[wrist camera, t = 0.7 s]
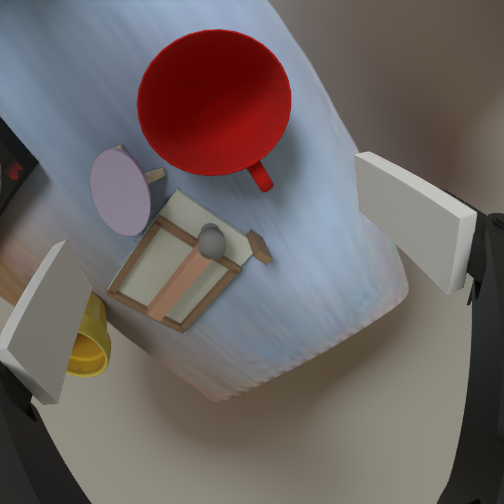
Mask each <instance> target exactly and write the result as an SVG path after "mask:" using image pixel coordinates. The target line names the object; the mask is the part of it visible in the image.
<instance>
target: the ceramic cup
mask: <svg viewBox="0 0 504 504" xmlns="http://www.w3.org/2000/svg"><path fill="white" fill-rule="evenodd" d="M208 97H209V98H208ZM137 110H138V119H139V122H140V125H141V129H142V132H143V134H144V136H145V137H146V139H147V141H148V143H149V144H150V146H151V147H152V148H153V149H154V150H155V151H156V153H157V154H158V155H159V156H160V157H162V158H163V159H164V160H166V161H167V162H168V163H170V164H171V165H173V166H175V167H177V168H179V169H181V170H183V171H186V172H190V173H193V174H197V175H207V176H216V175H226V174H230V173H234V172H237V171H241V170H243V169H245V168H247V170H248V171H249V173H250V174H251V176H252V177H253V179H254V181H255V182H256V184H257V185H258V187H259V189H260V190H261V192H267V191H269V190H270V189H272V188H273V182H272V180H271V179H270V177H269V175H268V173H267V172H266V170H265V169H264V167H263V165H262V163H261V161H260V160H261V159H262V158H263V157H265V156H266V155H267V154H268V153H269V152H270V151H271V150H272V149H273V147H274V146H275V145H276V144H277V142H278V141H279V139H280V138H281V136H282V135H283V133H284V131H285V128H286V126H287V123H288V121H289V116H290V111H291V90H290V85H289V80H288V77H287V75H286V73H285V70H284V68H283V66H282V65H281V63H280V62H279V60H278V59H277V58H276V56H275V55H274V54H273V53H272V52H271V51H270V50H269V49H268V48H267V47H265V46H264V45H263V44H262V43H260V42H258V41H257V40H255V39H253V38H252V37H250V36H247V35H244V34H242V33H239V32H236V31H230V30H222V29H215V30H203V31H199V32H195V33H191V34H188V35H186V36H183V37H181V38H179V39H177V40H175V41H173V42H172V43H171V44H169V45H168V46H167V47H165V48H164V49H163V50H162V51H161V52H160V53H159V54H158V55H157V56H156V57H155V58H154V59H153V61H152V62H151V63H150V65H149V67H148V68H147V70H146V72H145V73H144V75H143V78H142V81H141V84H140V87H139V90H138V99H137Z"/></svg>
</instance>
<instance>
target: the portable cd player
mask: <svg viewBox="0 0 504 504" xmlns="http://www.w3.org/2000/svg"><path fill="white" fill-rule="evenodd" d="M37 164H38V160H37V159H36V158H35V157H34V156H33V155H32V154H31V152H30V151H29V150H28V149H27V148H26V147H25V146H24V144H23V143H22V142H21V141H20V140H19V139H18V137H17V136H16V135H15V134H14V133H13V131H12V130H11V129H10V128H9V127H8V125H7V124H6V123H5V122H4V121H3V119H2V118H1V117H0V216H1V214H2V213H3V211H4V209H5V208H6V206H7V205H8V203H9V202H10V200H11V199H12V198H13V196H14V195H15V193H16V192H17V190H18V189H19V188H20V186H21V185H22V183H23V182H24V181H25V179H26V178H27V177H28V175H29V174H30V173H31V171H32V170H33V169H34V167H35V166H36V165H37Z"/></svg>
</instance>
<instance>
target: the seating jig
mask: <svg viewBox="0 0 504 504" xmlns="http://www.w3.org/2000/svg"><path fill="white" fill-rule="evenodd" d="M209 227H215V228H218V229H219V230H221V231H222V232H223V234H224V237H225V242H226V251H225V253H224V254H223V255H222V256H221V257H220V258H218V259H214V260H212V261H211V262H210V263H209V265H208V266H207V267H206V268H205V269H204V270H203V272H202V273H201V274H200V275H199V276H198V277H197V279H196V280H195V281H194V282H193V283H192V284H191V286H190V287H189V288H188V289H187V290H186V291H185V293H184V294H183V295H182V296H181V297H180V298H179V300H178V301H177V302H176V303H175V304H174V306H173V307H172V308H171V309H170V310H169V312H168V313H167V314H166V315H165V316H164V317H163V319H162V320H161V321H158V320H156V319H154V318H152V317H150V316H148V315H147V311H148V305H149V304H150V302H151V301H152V300H153V299H154V297H155V296H156V295H157V293H158V292H159V291H160V290H161V288H162V287H163V286H164V285H165V283H166V282H167V281H168V279H169V278H170V277H171V276H172V274H173V273H174V272H175V271H176V269H177V268H178V267H179V266H180V264H181V263H182V262H183V261H184V259H185V258H186V257H187V256H188V255H189V253H190V252H191V251H192V250H193V248H194V247H195V246H196V245H197V244H198V236H199V234H200V232H201V231H202V230H204V229H206V228H209ZM252 253H253V255H254V257H255V258H256V259H258V260H260V261H261V262H263V263H264V264H266V265H267V264H268V263H269V262H270V261H271V260H272V258H271V256H270V254H269V251H268V249H267V247H266V245H265V242H264V240H263V238H262V237H261V236H259V235H258V234H257V233H255V232H254V231H252V230H250V231H249V232H248V234H247V235H245V234H244V233H242V232H241V231H239V230H238V229H237V228H235V227H234V226H232V225H231V224H229V223H228V222H226V221H225V220H224V219H222V218H221V217H219V216H218V215H216V214H215V213H213V212H212V211H210V210H209V209H207V208H206V207H205V206H203V205H202V204H200V203H199V202H197V201H196V200H194V199H193V198H191V197H190V196H189V195H187V194H186V193H184V192H183V191H181V190H180V189H178V188H177V189H176V190H175V191H174V193H173V194H172V195H171V197H170V198H169V199H168V201H167V202H166V203H165V205H164V206H163V207H162V209H161V210H160V212H159V213H158V214H157V216H156V217H155V218H154V220H153V221H152V223H151V224H150V225H149V227H148V228H147V230H146V231H145V233H144V234H143V235H142V237H141V238H140V240H139V241H138V243H137V244H136V246H135V247H134V248H133V250H132V251H131V253H130V254H129V256H128V257H127V259H126V260H125V262H124V263H123V265H122V266H121V268H120V269H119V271H118V273H117V274H116V276H115V277H114V279H113V280H112V282H111V283H110V285H109V287H108V289H107V293H106V295H108V296H110V297H111V298H113V299H115V300H117V301H119V302H121V303H123V304H124V305H126V306H128V307H130V308H132V309H134V310H136V311H138V312H140V313H142V314H144V315H146V316H148V317H150V318H152V319H154V320H156V321H158V322H160V323H162V324H164V325H166V326H168V327H170V328H172V329H174V330H176V331H178V332H180V333H182V334H183V332H184V331H185V330H186V329H187V328H188V327H189V326H190V325H191V324H192V323H193V322H194V321H195V319H196V318H197V317H198V316H199V315H200V314H201V313H202V312H203V311H204V310H205V309H206V308H207V307H208V305H209V304H210V303H211V302H212V301H213V300H214V299H215V298H216V297H217V296H218V295H219V294H220V292H221V291H222V290H223V289H224V288H225V287H226V286H227V285H228V284H229V283H230V282H231V281H232V280H233V278H234V277H235V276H236V275H237V274H238V273H239V272H240V271H241V270H242V269H241V265H242V264H243V263H244V262H245V261H246V260H247V259H248V258H249V257H250V256H251V255H252Z"/></svg>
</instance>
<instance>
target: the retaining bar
mask: <svg viewBox="0 0 504 504" xmlns="http://www.w3.org/2000/svg"><path fill="white" fill-rule="evenodd" d="M225 251H226V242H225V237H224V234H223V232H222V231H221V230H219V229H218V228H215V227H209V228H206V229H204V230H202V231H201V232H200V234H199V236H198V244H197V245H196V246H195V247H194V248H193V250H192V251H191V252H190V253H189V255H188V256H187V257H186V258H185V259H184V261H183V262H182V263H181V264H180V266H179V267H178V268H177V269H176V271H175V272H174V273H173V274H172V276H171V277H170V278H169V279H168V281H167V282H166V283H165V285H164V286H163V287H162V288H161V290H160V291H159V292H158V293H157V295H156V296H155V297H154V299H153V300H152V301H151V302H150V304H149V305H148V311H147V315H148V316H150V317H152V318H154V319H156V320H158V321H161V320H162V319H163V317H164V316H165V315H166V314H167V313H168V312H169V310H170V309H171V308H172V307H173V306H174V304H175V303H176V302H177V301H178V300H179V298H180V297H181V296H182V295H183V294H184V293H185V291H186V290H187V289H188V288H189V287H190V286H191V284H192V283H193V282H194V281H195V280H196V279H197V277H198V276H199V275H200V274H201V273H202V272H203V270H204V269H205V268H206V267H207V266H208V265H209V263H210V262H211V261H212V260H214V259H218V258H220V257H221V256H222V255H223V254H224V253H225Z"/></svg>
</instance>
